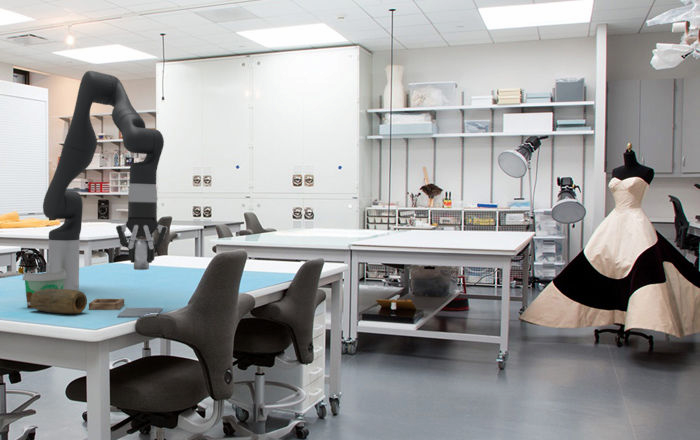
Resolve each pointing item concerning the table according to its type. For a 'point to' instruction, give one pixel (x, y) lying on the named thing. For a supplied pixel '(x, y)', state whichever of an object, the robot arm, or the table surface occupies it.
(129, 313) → the mat
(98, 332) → the table surface
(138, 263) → the steel pin
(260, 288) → the table surface
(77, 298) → the brown wooden cylinder
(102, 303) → the socket
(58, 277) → the food container
